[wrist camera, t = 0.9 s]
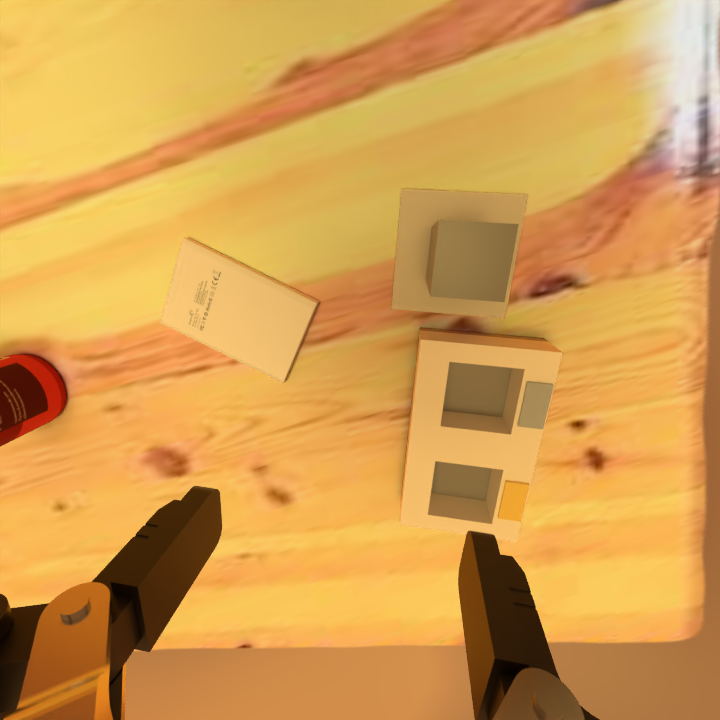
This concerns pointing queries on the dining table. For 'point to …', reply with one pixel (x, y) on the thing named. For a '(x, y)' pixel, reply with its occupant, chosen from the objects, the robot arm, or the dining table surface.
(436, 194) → the mat
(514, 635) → the robot arm
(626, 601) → the dining table surface
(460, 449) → the socket block
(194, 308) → the external hard drive
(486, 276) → the plug
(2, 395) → the canned food
